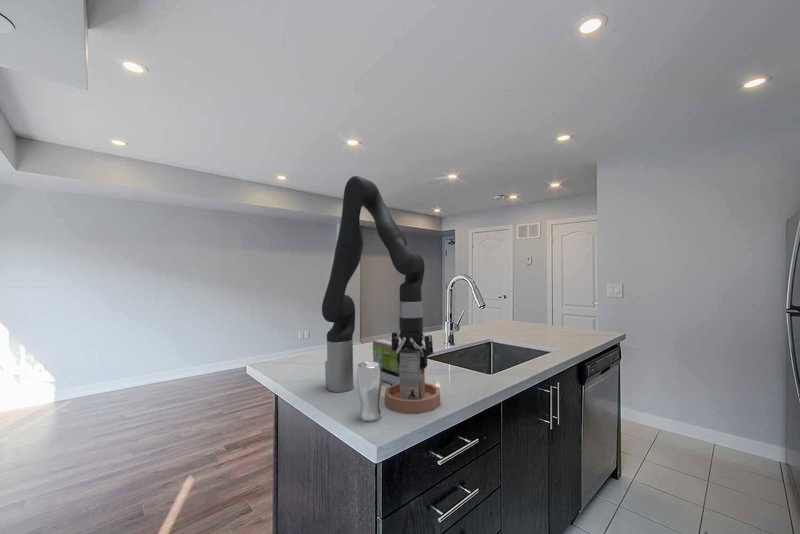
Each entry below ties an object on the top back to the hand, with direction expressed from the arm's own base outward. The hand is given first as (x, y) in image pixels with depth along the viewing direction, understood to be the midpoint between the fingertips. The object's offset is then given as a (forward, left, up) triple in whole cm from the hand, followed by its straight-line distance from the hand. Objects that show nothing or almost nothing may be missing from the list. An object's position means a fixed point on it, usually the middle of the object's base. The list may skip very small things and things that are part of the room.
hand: (412, 366), depth 106 cm
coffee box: (0, 0, -10) cm, 10 cm away
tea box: (-18, +15, -11) cm, 26 cm away
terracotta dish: (0, 0, -11) cm, 11 cm away
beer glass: (-4, -16, -11) cm, 20 cm away
